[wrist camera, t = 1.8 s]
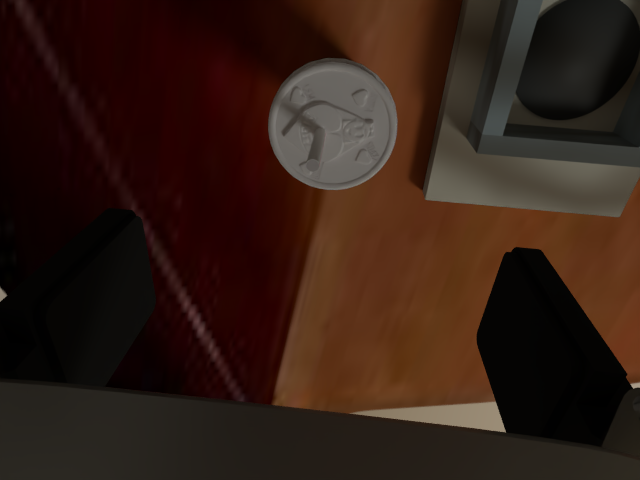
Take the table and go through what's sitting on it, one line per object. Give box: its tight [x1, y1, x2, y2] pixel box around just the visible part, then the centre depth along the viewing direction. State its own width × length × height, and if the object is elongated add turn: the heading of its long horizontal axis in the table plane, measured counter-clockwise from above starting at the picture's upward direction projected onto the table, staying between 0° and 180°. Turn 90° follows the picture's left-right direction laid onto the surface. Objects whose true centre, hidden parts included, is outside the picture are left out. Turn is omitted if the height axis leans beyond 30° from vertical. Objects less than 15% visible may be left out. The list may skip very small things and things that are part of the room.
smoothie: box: [268, 58, 397, 190], centre depth 23 cm, size 6×6×14 cm
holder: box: [423, 0, 640, 217], centre depth 25 cm, size 20×14×4 cm
